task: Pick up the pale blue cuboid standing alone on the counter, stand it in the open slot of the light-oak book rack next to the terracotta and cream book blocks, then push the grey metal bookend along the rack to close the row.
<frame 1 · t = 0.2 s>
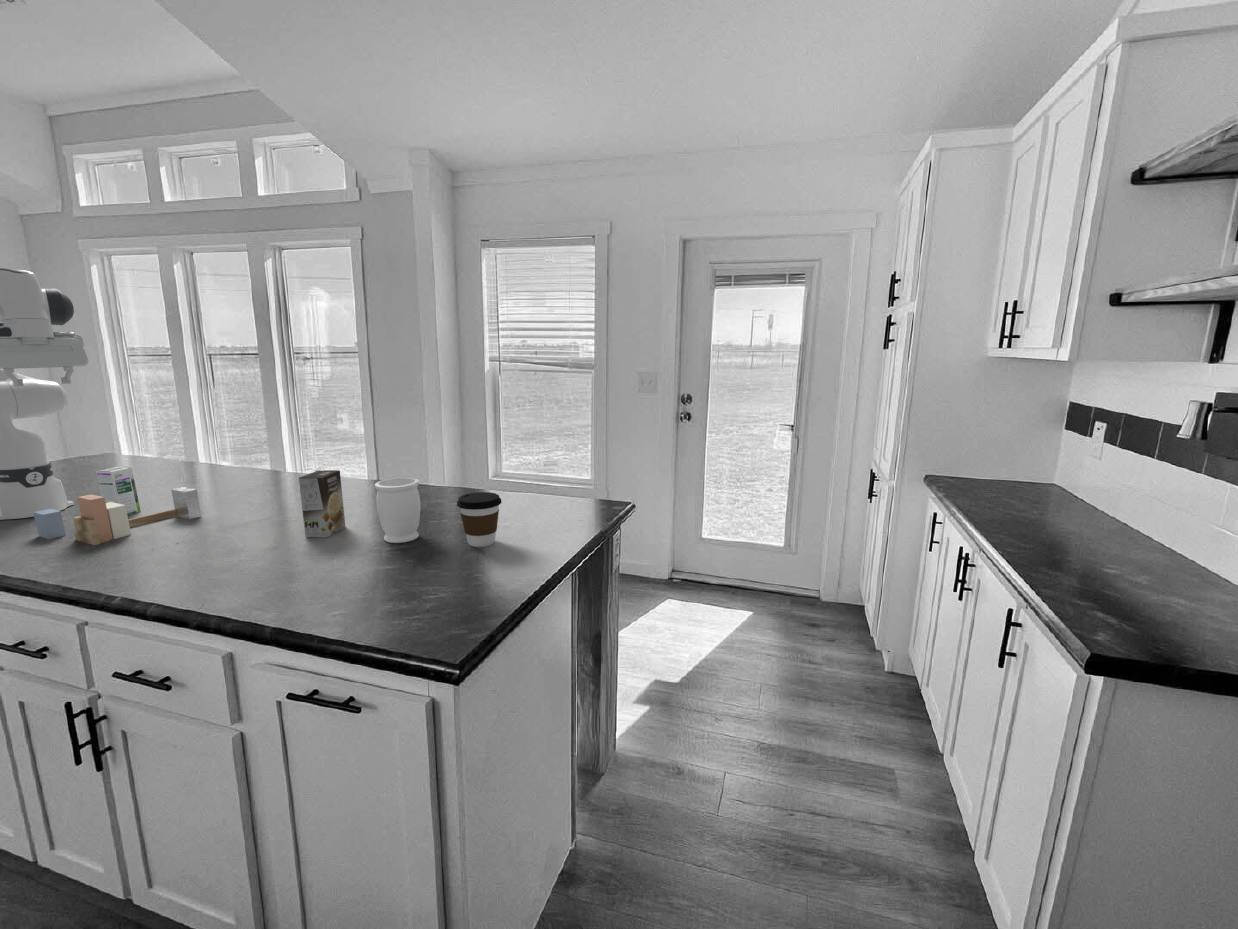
hand: (43, 385, 153), 39 cm above the worktop, tool pointing down, fingers open, 8 cm apart
pale blue cuboid: (53, 539, 148), on the worktop
coffee cup: (481, 543, 145), on the worktop
book B: (115, 535, 148), resting on rack
rack: (143, 531, 154), on the worktop
syrup box: (123, 517, 166), on the worktop
book A: (99, 539, 145), resting on rack
coffee box: (326, 532, 153), on the worktop
jar: (401, 539, 148), on the worktop
bookend: (186, 503, 162), point 5 cm above the worktop, slide at 0.0 cm
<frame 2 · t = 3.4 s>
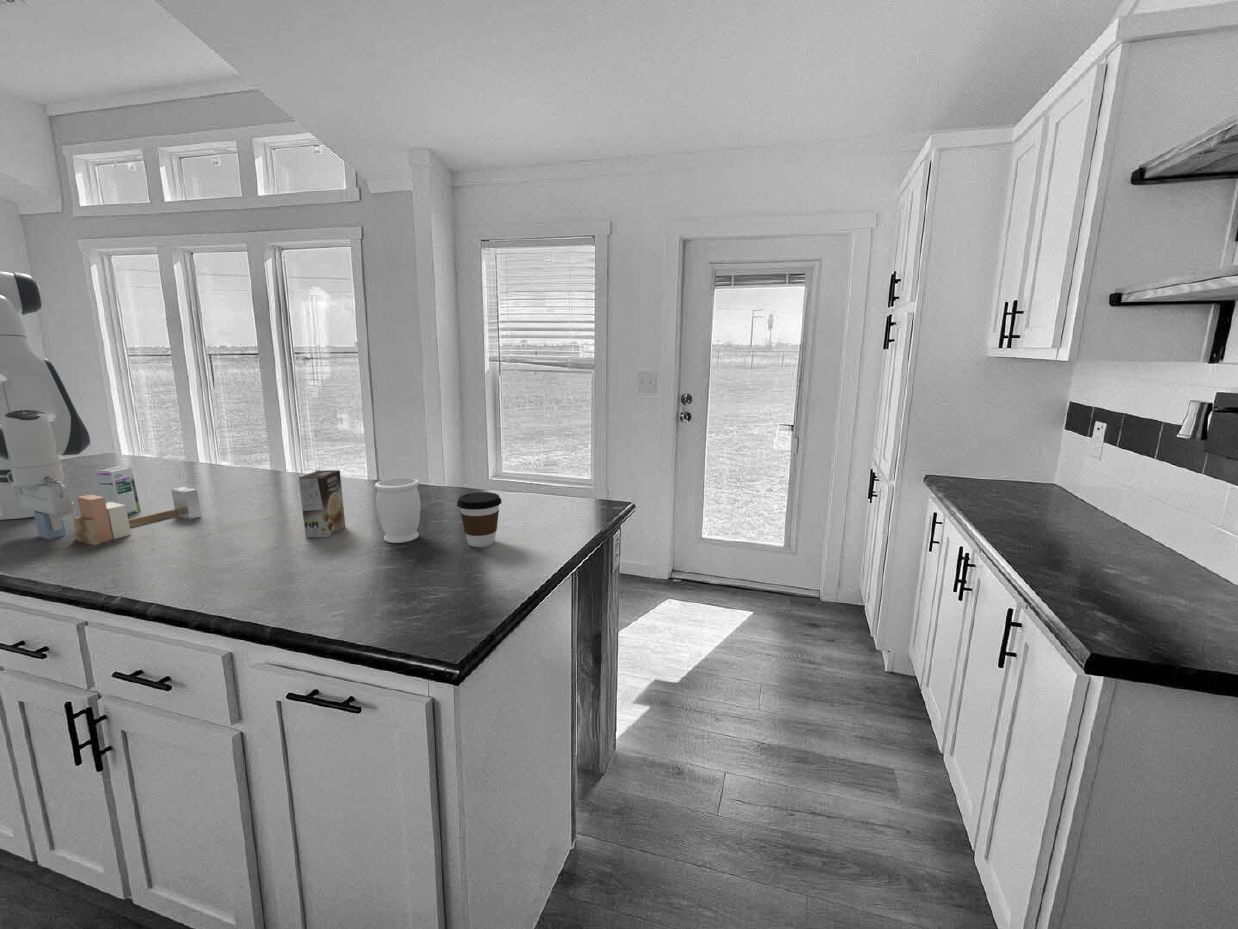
hand: (50, 527, 147), 3 cm above the worktop, tool pointing down, fingers closed on pale blue cuboid, 5 cm apart
pale blue cuboid: (53, 539, 148), on the worktop, touching gripper
everything else where it was.
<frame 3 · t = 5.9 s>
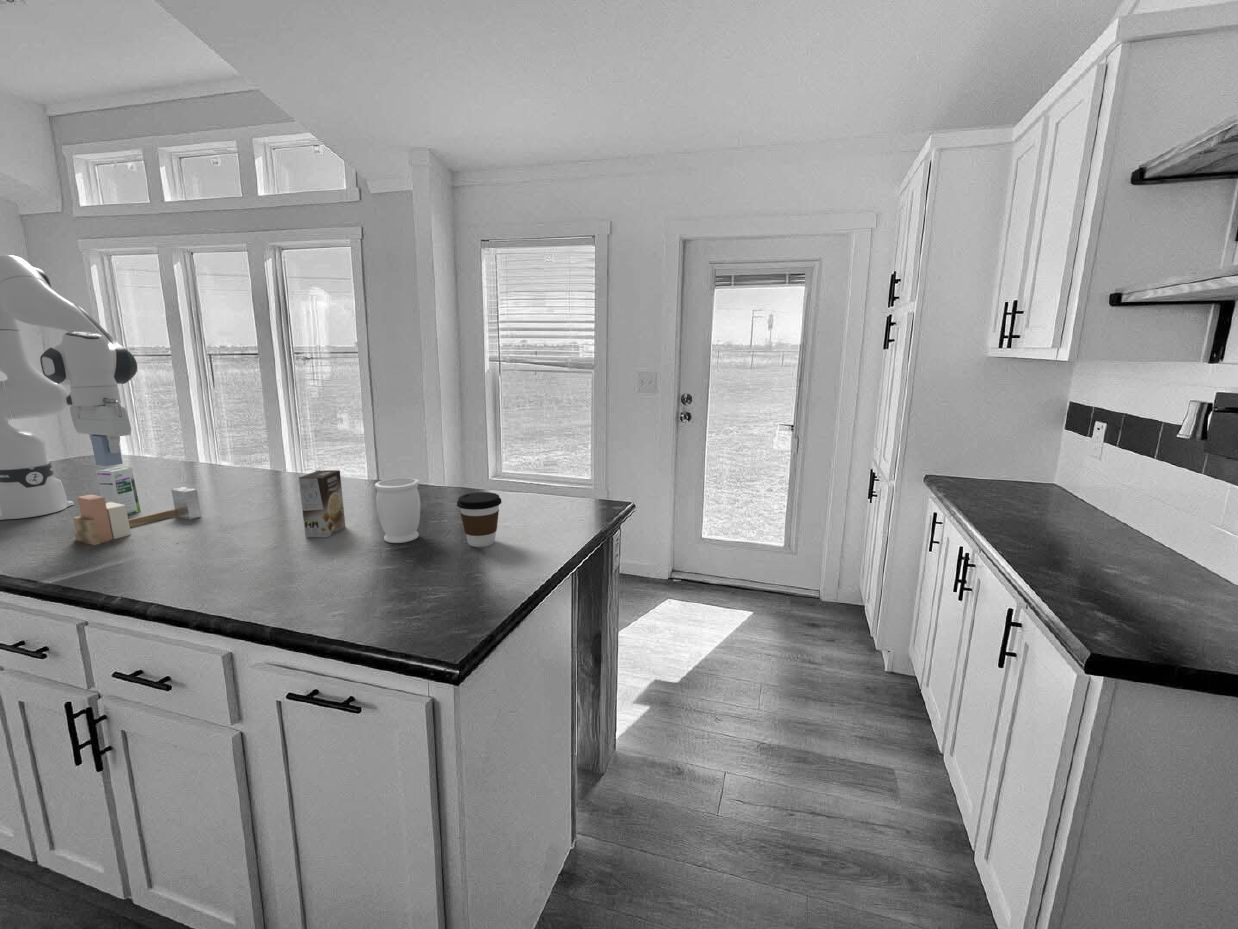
hand: (107, 452, 146), 22 cm above the worktop, tool pointing down, fingers closed on pale blue cuboid, 5 cm apart
pale blue cuboid: (109, 464, 147), point 19 cm above the worktop, touching gripper
everything else where it was.
when the fingers open (6 cm above the worktop, at t = 8.4 s): pale blue cuboid drops 2 cm, resting on rack.
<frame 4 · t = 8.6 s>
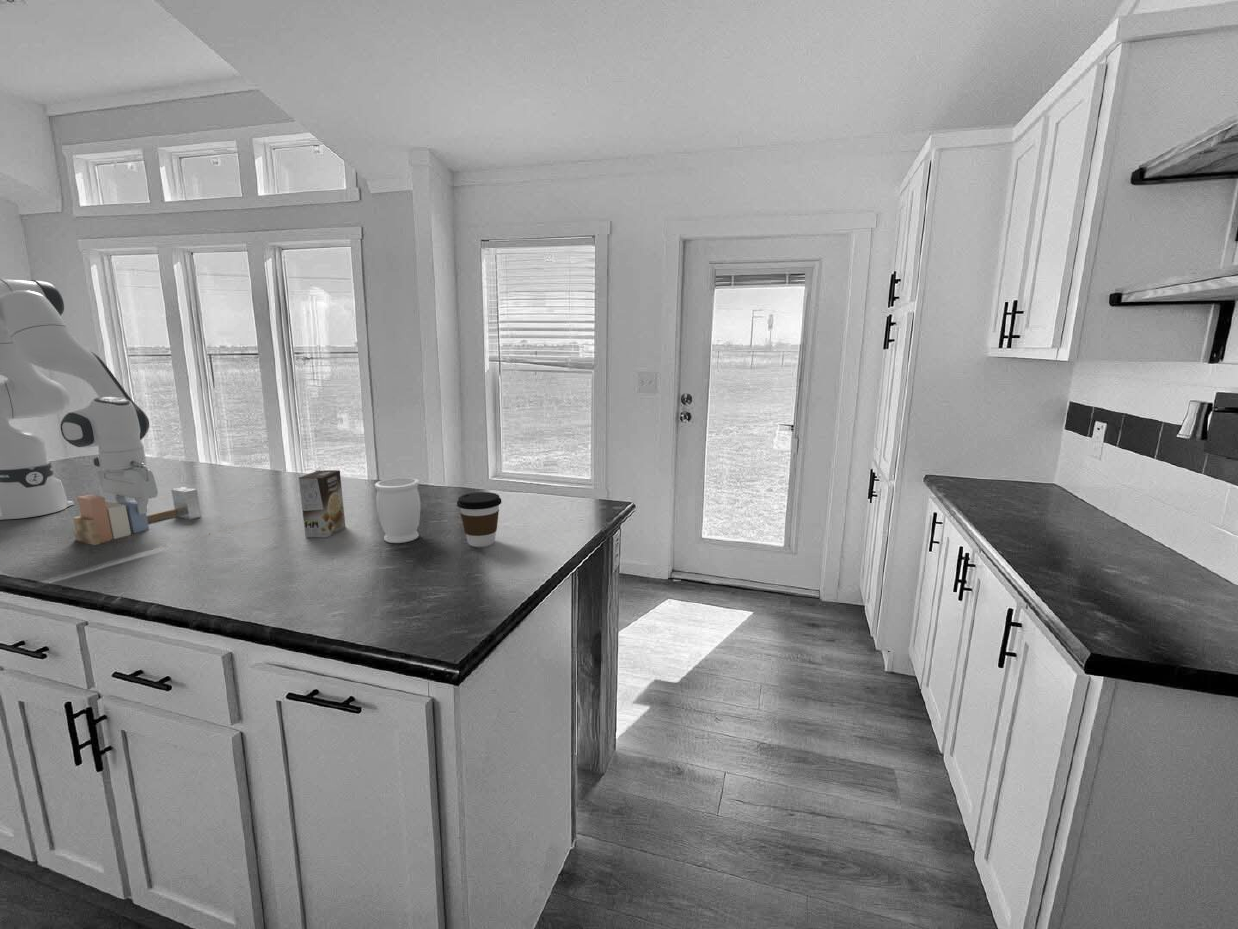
hand: (133, 511, 151), 6 cm above the worktop, tool pointing down, fingers open, 7 cm apart
pale blue cuboid: (136, 529, 152), point 1 cm above the worktop, touching rack
everything else where it was.
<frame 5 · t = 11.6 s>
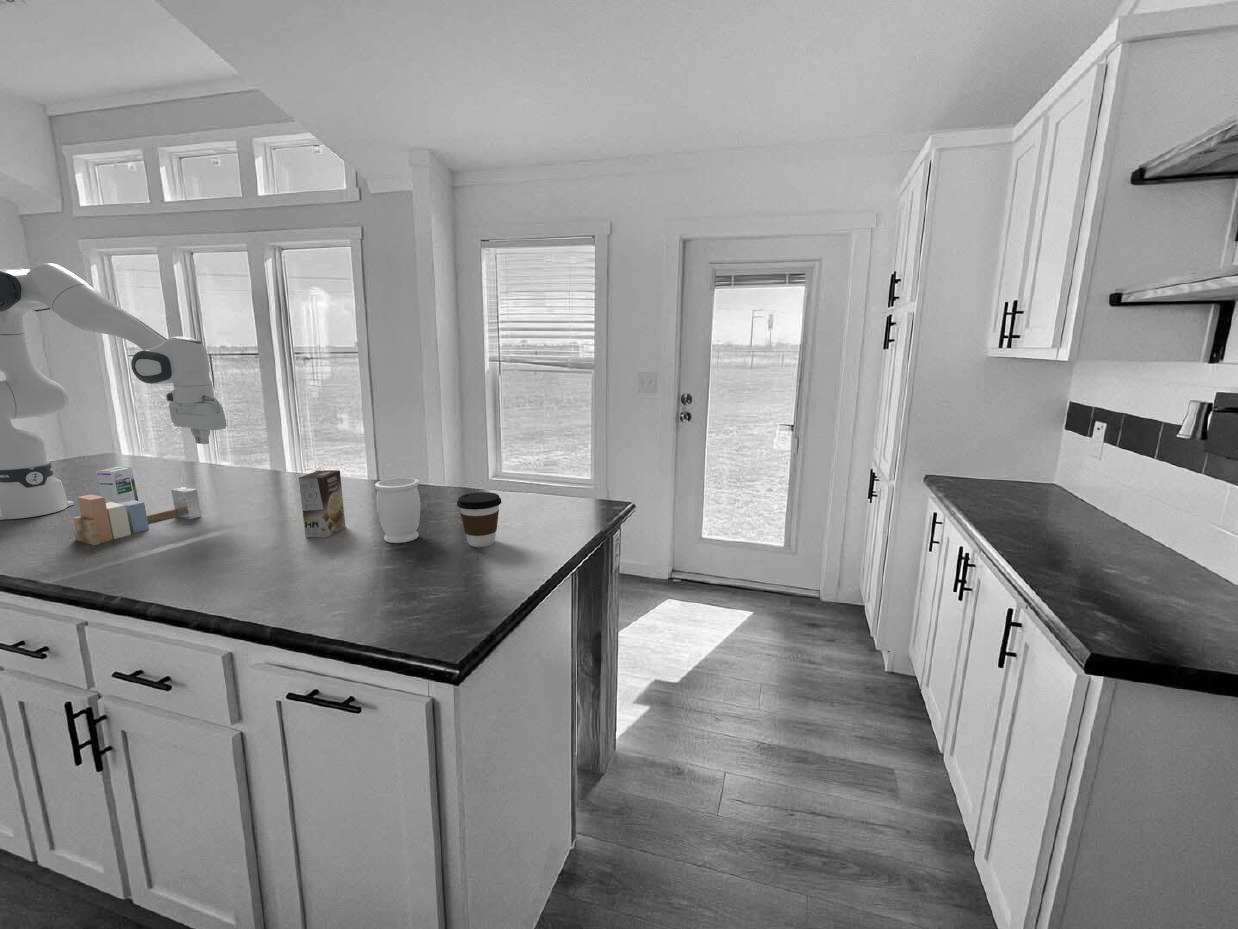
hand: (202, 443, 165), 21 cm above the worktop, tool pointing down, fingers closed
nothing on the worktop moved.
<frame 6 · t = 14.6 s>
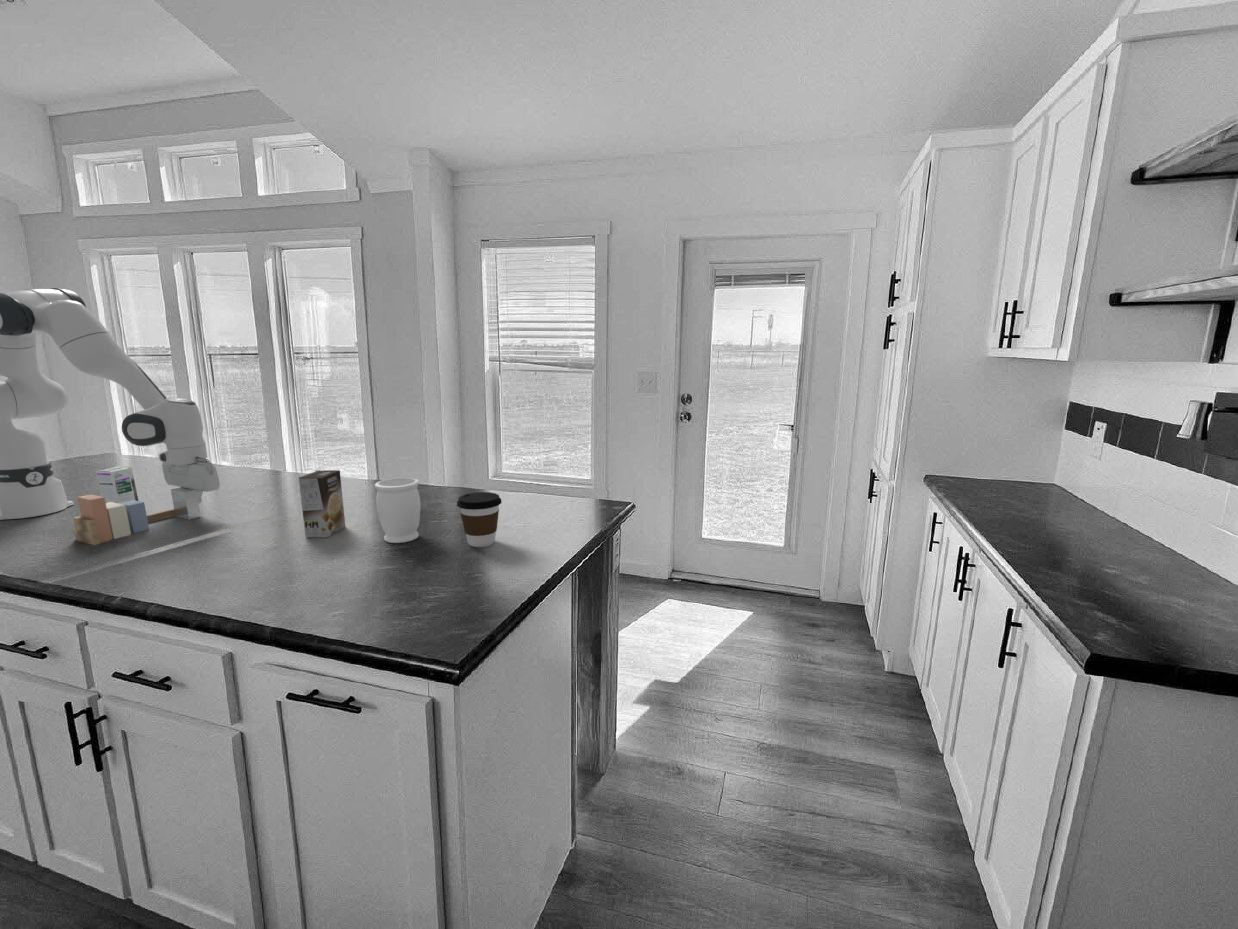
hand: (195, 502, 165), 4 cm above the worktop, tool pointing down, fingers closed
bookend: (185, 503, 162), point 5 cm above the worktop, slide at 0.2 cm, touching gripper
everything else where it was.
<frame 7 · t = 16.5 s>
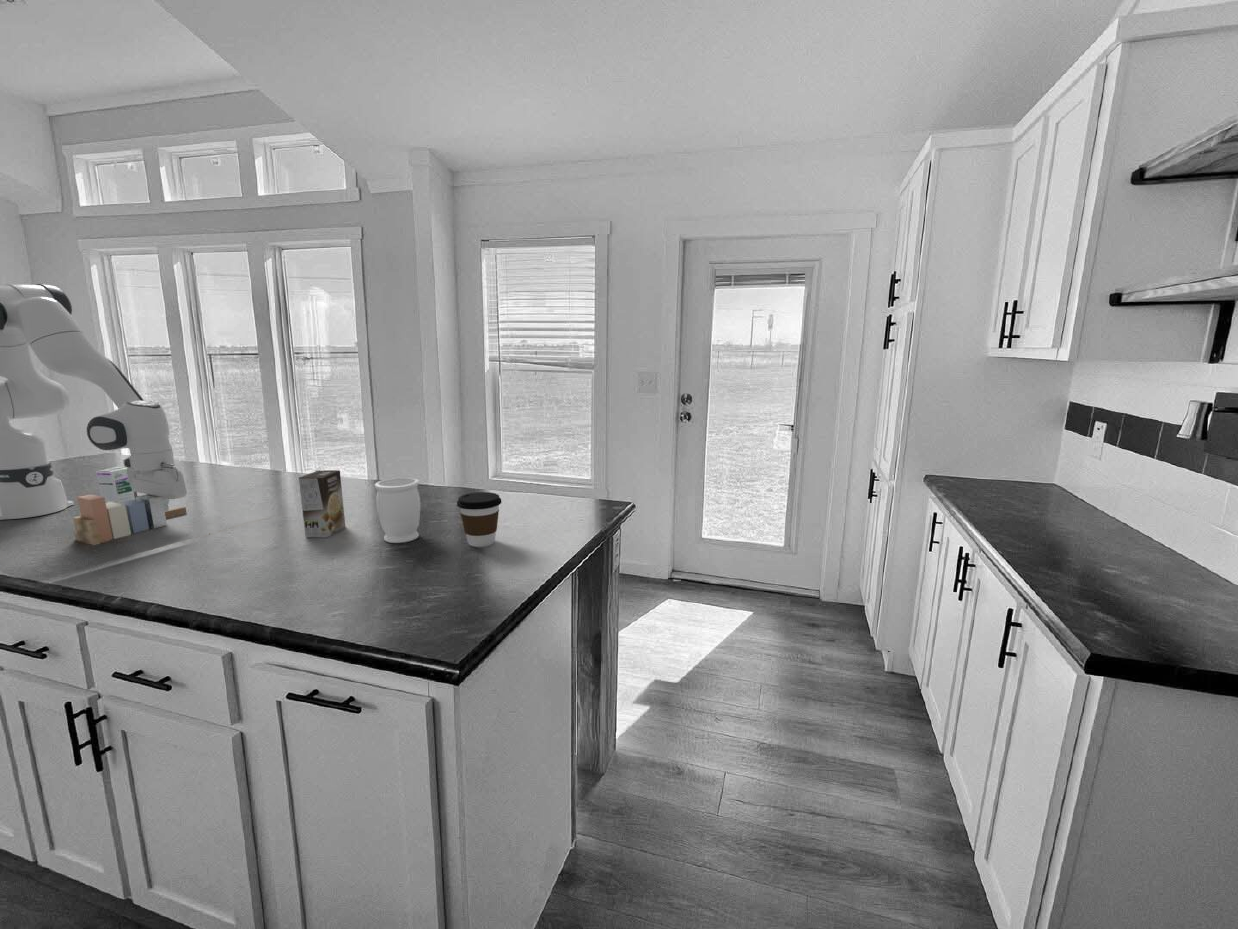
hand: (162, 510, 157), 5 cm above the worktop, tool pointing down, fingers closed, pressing on bookend
bookend: (151, 511, 155), point 5 cm above the worktop, slide at 8.6 cm, touching gripper
everything else where it was.
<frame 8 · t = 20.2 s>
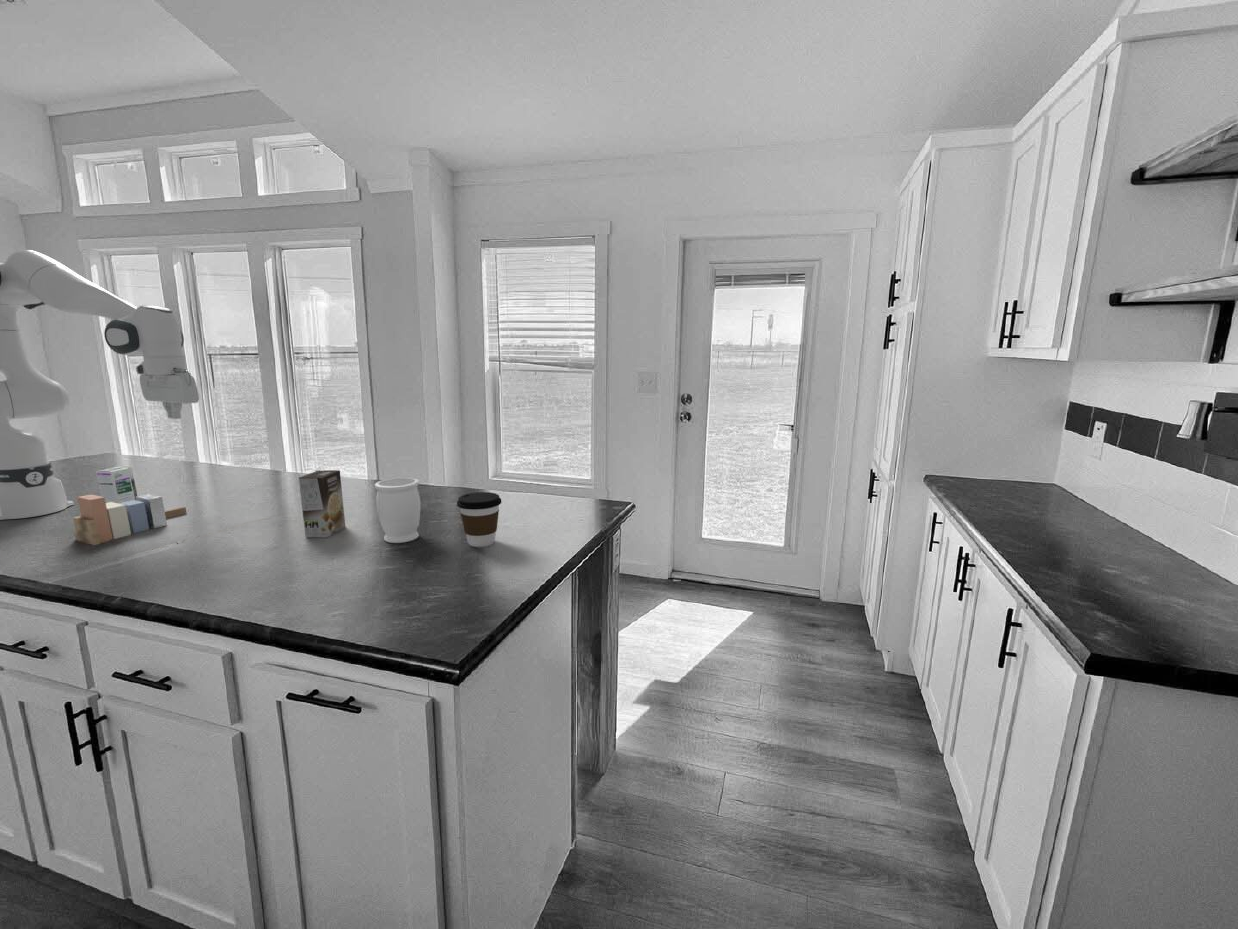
hand: (174, 418, 158), 29 cm above the worktop, tool pointing down, fingers closed
bookend: (151, 511, 155), point 5 cm above the worktop, slide at 8.6 cm
everything else where it was.
at the end: pale blue cuboid 0.7 cm from the target spot, point 1.0 cm above the worktop; pale blue cuboid tilted 0°; bookend slide at 8.6 cm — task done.
